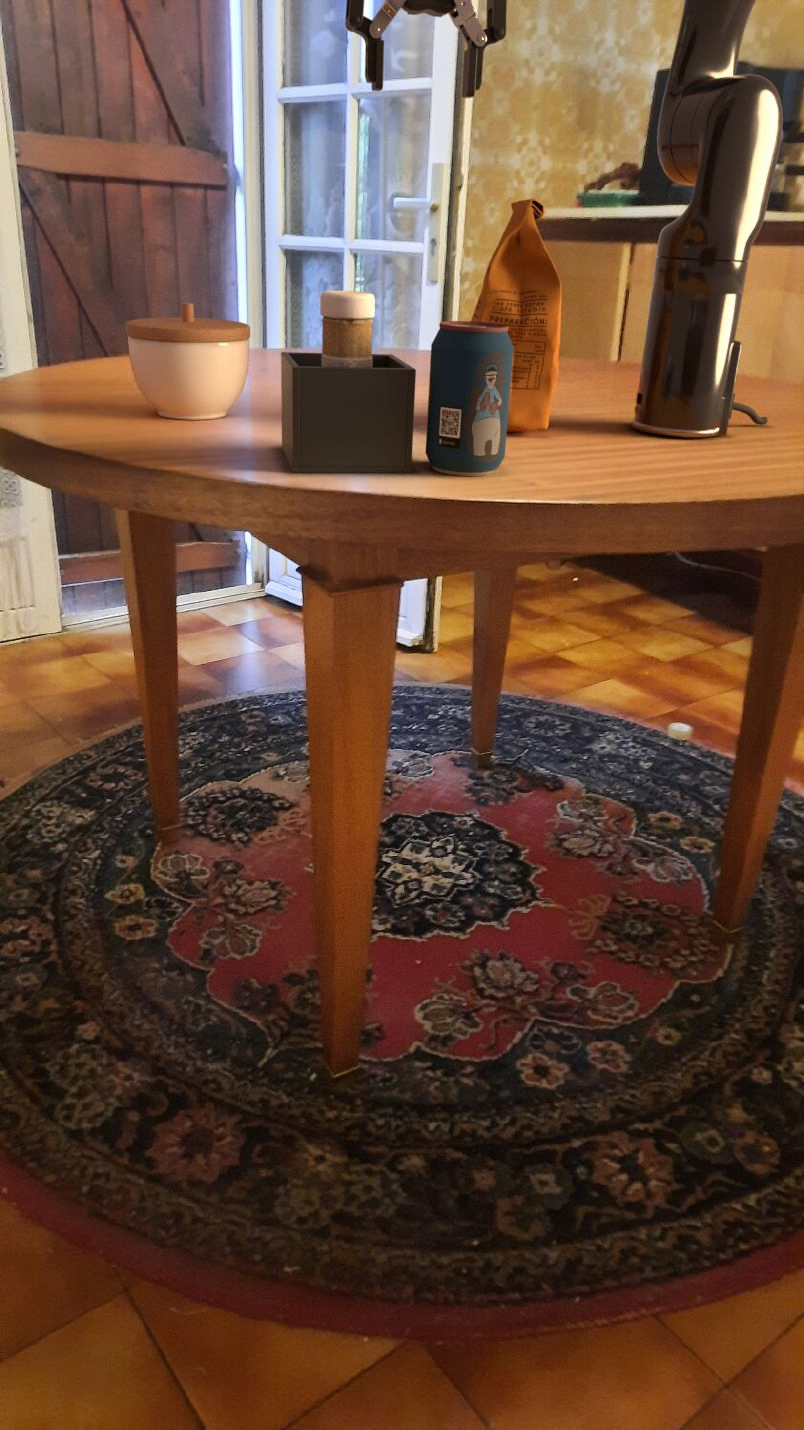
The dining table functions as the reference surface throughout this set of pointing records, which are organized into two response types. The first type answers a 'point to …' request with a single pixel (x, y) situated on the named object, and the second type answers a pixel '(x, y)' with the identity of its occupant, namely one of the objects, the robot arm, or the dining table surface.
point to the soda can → (469, 397)
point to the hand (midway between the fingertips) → (423, 94)
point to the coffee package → (525, 315)
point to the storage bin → (347, 415)
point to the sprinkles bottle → (347, 328)
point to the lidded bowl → (189, 363)
